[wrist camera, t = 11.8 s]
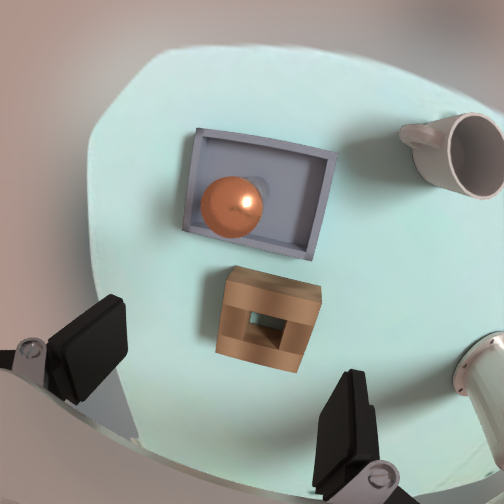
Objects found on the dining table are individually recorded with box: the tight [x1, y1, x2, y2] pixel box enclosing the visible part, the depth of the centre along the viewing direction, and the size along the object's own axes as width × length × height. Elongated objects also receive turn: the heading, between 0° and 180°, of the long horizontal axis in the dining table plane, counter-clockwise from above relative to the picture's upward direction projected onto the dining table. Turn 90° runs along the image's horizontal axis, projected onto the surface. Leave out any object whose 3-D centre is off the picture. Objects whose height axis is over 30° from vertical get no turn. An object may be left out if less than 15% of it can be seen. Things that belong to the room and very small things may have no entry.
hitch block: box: [215, 266, 322, 373], centre depth 32 cm, size 10×10×4 cm
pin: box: [201, 176, 270, 238], centre depth 24 cm, size 4×4×10 cm
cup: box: [398, 112, 504, 200], centre depth 20 cm, size 7×10×9 cm
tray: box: [182, 128, 338, 261], centre depth 29 cm, size 14×11×2 cm
